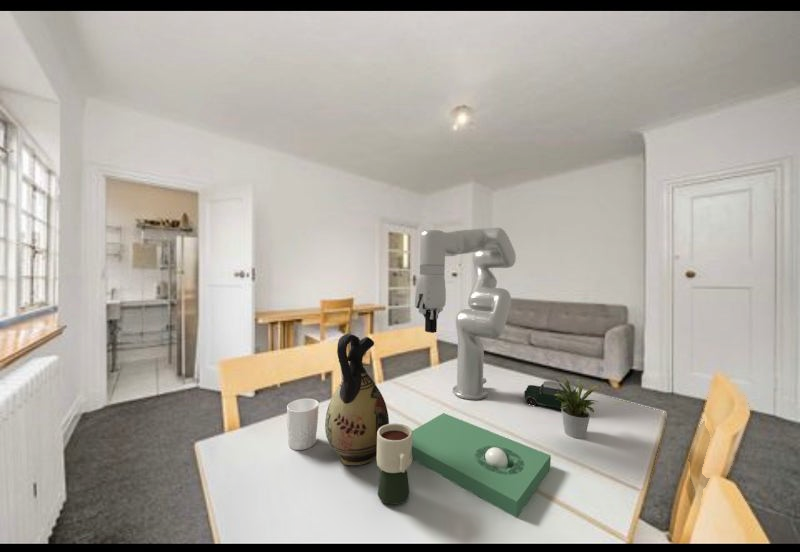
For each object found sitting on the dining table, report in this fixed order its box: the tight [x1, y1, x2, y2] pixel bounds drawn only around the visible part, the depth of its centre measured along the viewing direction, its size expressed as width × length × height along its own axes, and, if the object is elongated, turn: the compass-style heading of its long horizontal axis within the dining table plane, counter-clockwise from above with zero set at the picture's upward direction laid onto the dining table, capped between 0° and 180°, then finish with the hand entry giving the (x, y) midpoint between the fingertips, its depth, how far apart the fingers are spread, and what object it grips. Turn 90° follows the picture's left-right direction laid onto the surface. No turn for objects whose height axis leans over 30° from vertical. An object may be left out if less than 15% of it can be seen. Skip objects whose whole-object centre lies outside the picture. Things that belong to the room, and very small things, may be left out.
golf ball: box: [485, 447, 508, 469], centre depth 69 cm, size 5×5×5 cm
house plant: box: [547, 374, 602, 440], centre depth 87 cm, size 14×14×16 cm
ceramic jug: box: [324, 333, 390, 466], centre depth 74 cm, size 17×15×30 cm
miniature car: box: [523, 380, 582, 409], centre depth 105 cm, size 9×18×8 cm, turn 57°
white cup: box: [286, 398, 320, 451], centre depth 79 cm, size 8×8×10 cm
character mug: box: [376, 423, 413, 505], centre depth 61 cm, size 11×7×13 cm, turn 20°
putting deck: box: [412, 412, 552, 519], centre depth 73 cm, size 30×20×3 cm, turn 47°
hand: (430, 331), depth 92 cm, fingers closed
